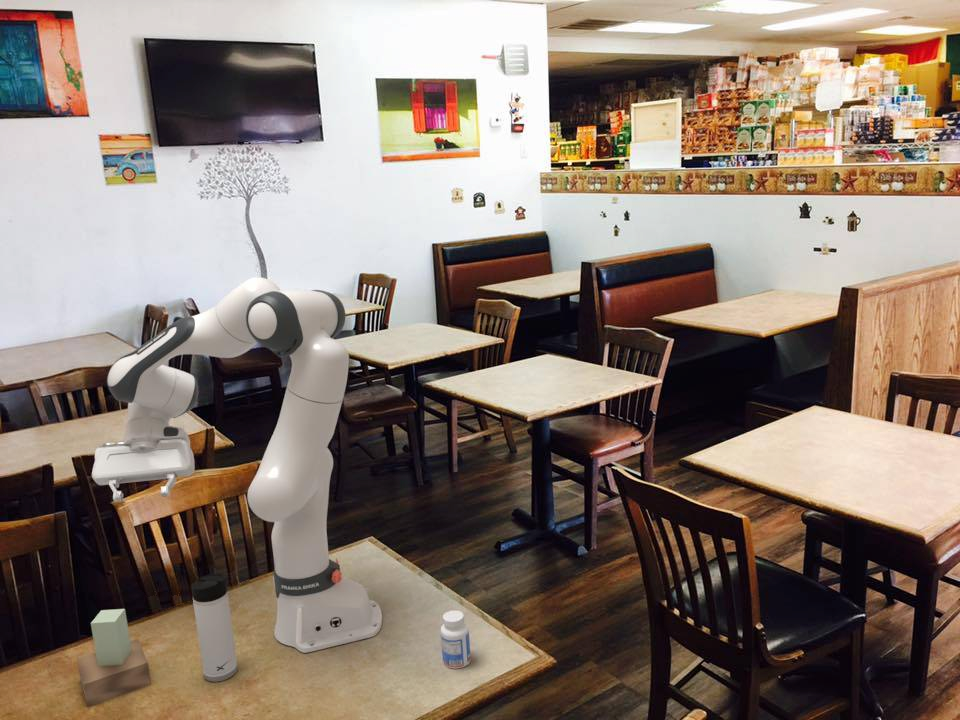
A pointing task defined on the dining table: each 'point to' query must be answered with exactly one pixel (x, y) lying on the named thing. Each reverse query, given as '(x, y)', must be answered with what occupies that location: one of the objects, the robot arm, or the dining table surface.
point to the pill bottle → (455, 640)
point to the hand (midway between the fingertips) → (141, 498)
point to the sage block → (111, 637)
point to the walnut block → (113, 676)
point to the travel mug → (214, 627)
